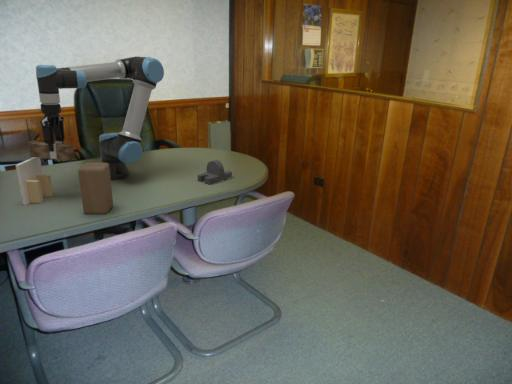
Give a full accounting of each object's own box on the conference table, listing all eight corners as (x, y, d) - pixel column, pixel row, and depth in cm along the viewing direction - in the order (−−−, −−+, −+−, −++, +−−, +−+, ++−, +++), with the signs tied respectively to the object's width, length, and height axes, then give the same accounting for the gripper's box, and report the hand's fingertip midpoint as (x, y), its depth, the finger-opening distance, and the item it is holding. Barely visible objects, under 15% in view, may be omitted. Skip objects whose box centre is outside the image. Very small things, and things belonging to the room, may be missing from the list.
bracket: (232, 178, 212) (233, 159, 208) (209, 185, 199) (209, 165, 195) (220, 174, 218) (220, 155, 214) (196, 181, 205) (196, 162, 201)
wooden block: (90, 205, 168) (85, 161, 161) (113, 205, 169) (109, 162, 162) (83, 214, 159) (76, 168, 152) (107, 214, 160) (102, 169, 153)
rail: (74, 158, 170) (72, 144, 168) (68, 160, 166) (67, 146, 164) (35, 154, 171) (33, 140, 169) (29, 156, 167) (27, 142, 165)
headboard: (56, 193, 180) (50, 156, 173) (37, 205, 166) (30, 165, 159) (42, 192, 180) (36, 155, 174) (23, 204, 166) (15, 165, 159)
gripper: (53, 100, 169) (59, 152, 177) (28, 105, 153) (36, 161, 161) (69, 101, 168) (75, 153, 176) (46, 106, 152) (53, 162, 160)
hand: (57, 157), depth 168 cm, fingers closed on rail, 4 cm apart
